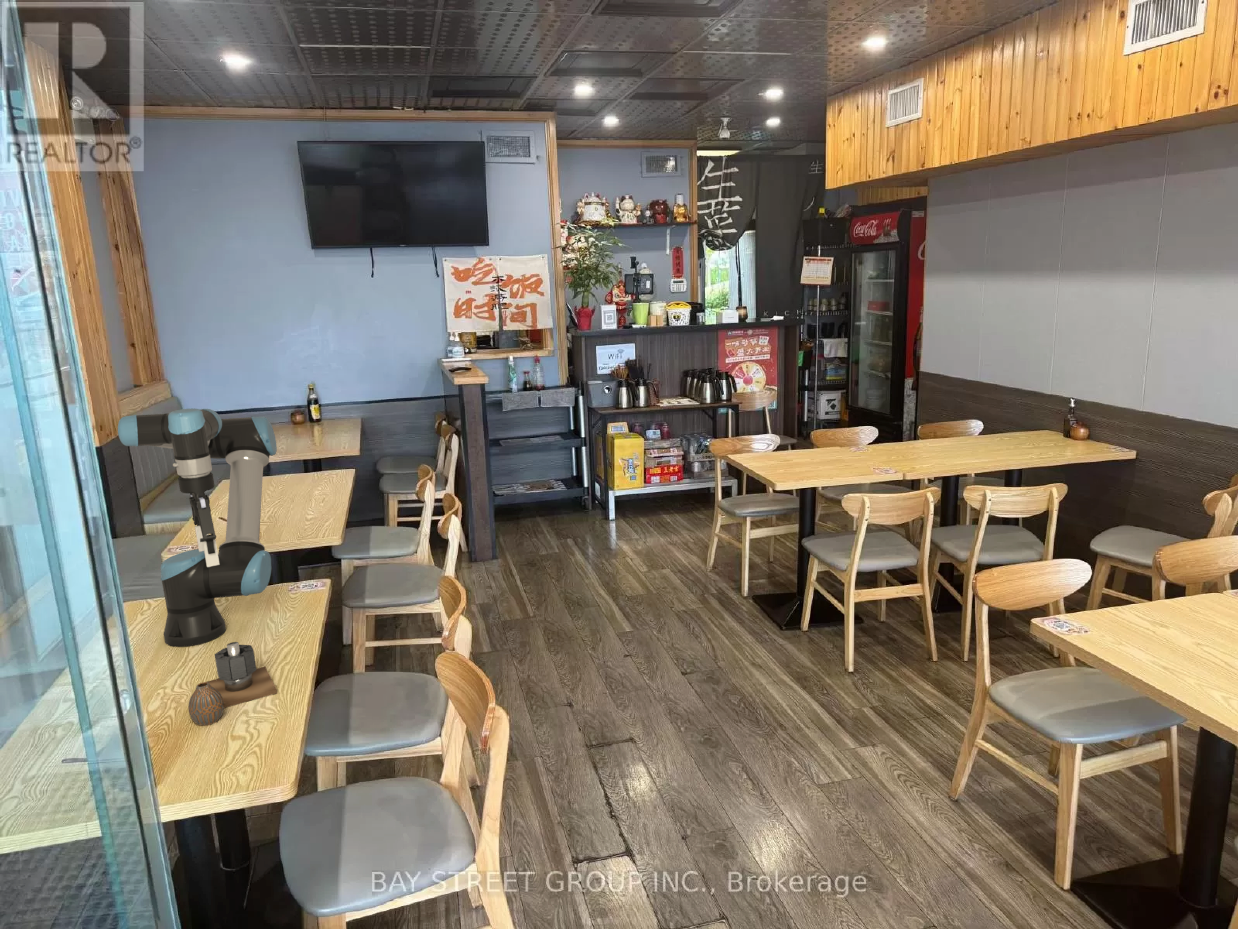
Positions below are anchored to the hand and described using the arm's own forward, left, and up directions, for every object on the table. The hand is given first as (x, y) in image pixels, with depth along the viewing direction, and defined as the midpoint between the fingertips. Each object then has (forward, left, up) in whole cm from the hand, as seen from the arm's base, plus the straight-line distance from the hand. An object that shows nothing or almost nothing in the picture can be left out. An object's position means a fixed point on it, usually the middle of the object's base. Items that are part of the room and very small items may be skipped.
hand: (208, 557), depth 204 cm
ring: (+18, +1, -24) cm, 29 cm away
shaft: (+18, +1, -27) cm, 32 cm away
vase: (+29, -7, -29) cm, 41 cm away
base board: (+18, +1, -28) cm, 33 cm away
